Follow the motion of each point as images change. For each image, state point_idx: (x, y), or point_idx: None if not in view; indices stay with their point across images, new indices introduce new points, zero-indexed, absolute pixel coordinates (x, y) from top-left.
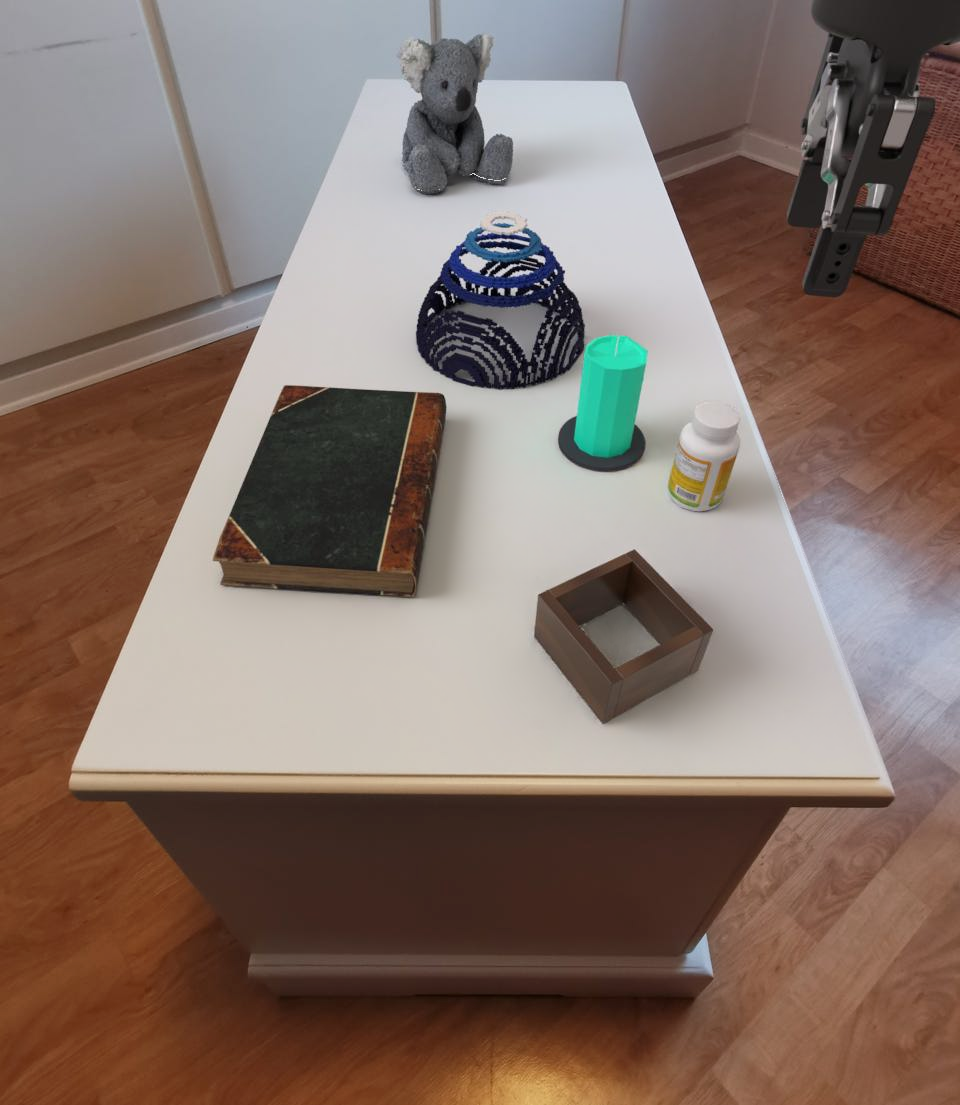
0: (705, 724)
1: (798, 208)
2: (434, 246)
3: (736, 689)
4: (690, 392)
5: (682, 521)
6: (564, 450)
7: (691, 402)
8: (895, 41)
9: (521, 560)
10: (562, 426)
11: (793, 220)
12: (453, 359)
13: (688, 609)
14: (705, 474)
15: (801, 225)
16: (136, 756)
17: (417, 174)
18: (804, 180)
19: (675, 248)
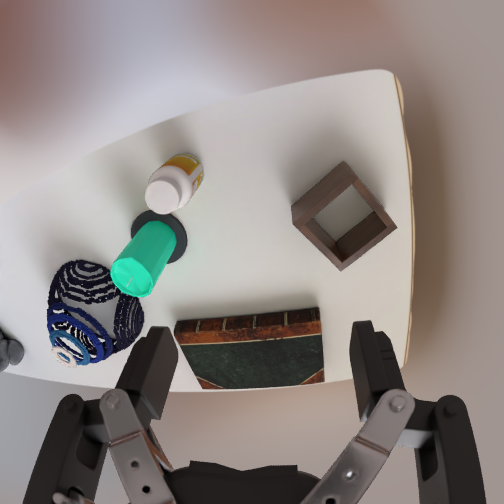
0: (378, 156)
1: (171, 367)
2: (50, 340)
3: (352, 138)
4: (85, 188)
5: (215, 176)
6: (178, 258)
7: (94, 186)
8: None
9: (279, 265)
10: None
11: (175, 355)
12: (137, 330)
13: (339, 188)
14: (195, 181)
15: (174, 343)
16: (399, 360)
17: (20, 357)
18: (163, 398)
19: None
